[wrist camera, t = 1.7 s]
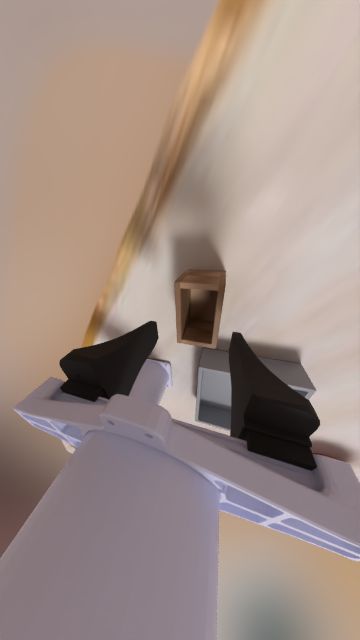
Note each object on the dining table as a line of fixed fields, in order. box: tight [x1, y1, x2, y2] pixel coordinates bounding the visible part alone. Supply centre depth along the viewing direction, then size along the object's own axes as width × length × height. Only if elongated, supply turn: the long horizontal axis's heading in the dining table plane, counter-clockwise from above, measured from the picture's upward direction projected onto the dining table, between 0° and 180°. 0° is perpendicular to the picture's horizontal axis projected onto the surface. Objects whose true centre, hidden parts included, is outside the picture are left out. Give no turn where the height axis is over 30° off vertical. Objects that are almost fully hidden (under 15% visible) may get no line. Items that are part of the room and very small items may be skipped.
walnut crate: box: [175, 270, 226, 349], centre depth 18 cm, size 5×8×6 cm, turn 2°
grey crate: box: [195, 348, 316, 431], centre depth 26 cm, size 15×17×4 cm
